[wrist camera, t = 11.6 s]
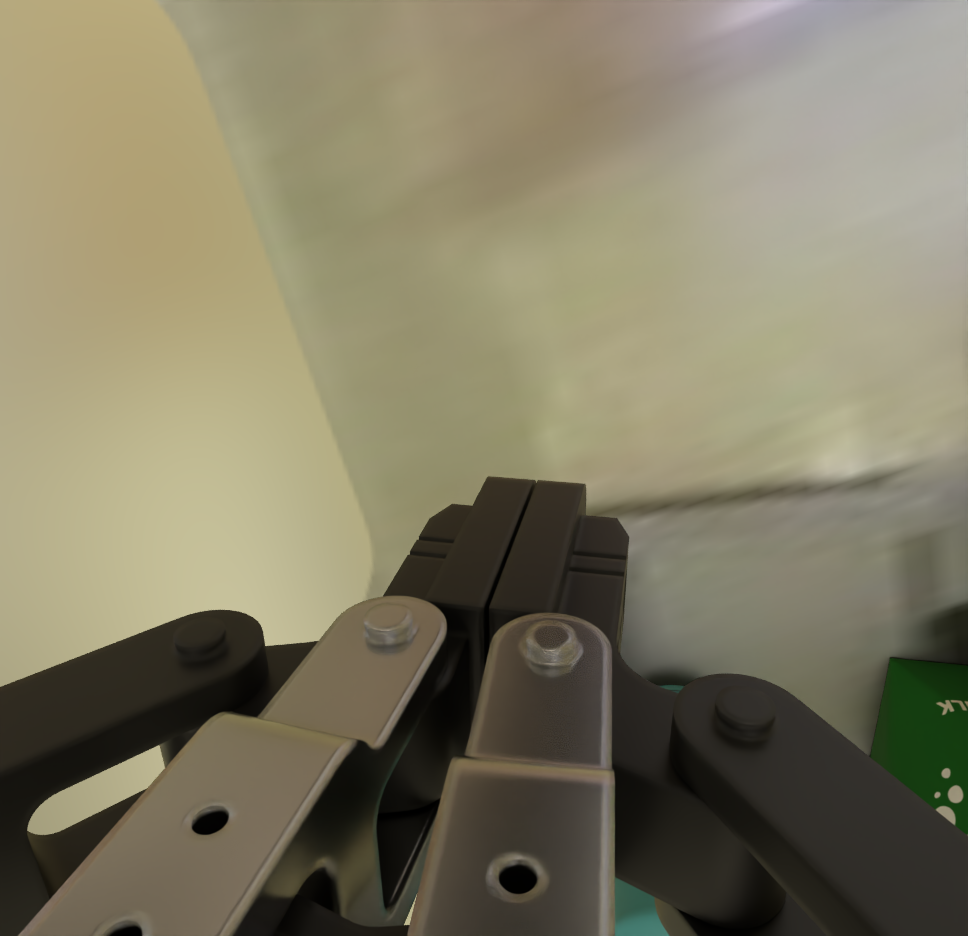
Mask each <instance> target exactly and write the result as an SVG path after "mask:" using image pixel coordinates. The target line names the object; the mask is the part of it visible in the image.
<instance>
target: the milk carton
mask: <svg viewBox="0 0 968 936" xmlns="http://www.w3.org/2000/svg"><path fill="white" fill-rule="evenodd" d="M870 758H872V759H873V760H874V761H875V762H877V763H878V764H879V765H880V766H882V767H883V768H884V769H885V770H887V771H888V772H889V773H890V774H892V775H893V776H894V777H895V778H897V779H898V780H899V781H900V782H902V783H903V784H904V785H905V786H907V787H908V788H909V789H910V790H911V791H913V792H914V793H915V794H916V795H918V796H919V797H920V798H921V799H923V800H924V801H925V802H926V803H928V804H929V805H930V806H931V807H933V808H934V809H935V810H936V811H938V812H939V813H940V814H941V815H943V816H944V817H945V818H946V819H948V820H949V821H950V822H951V823H952V824H954V825H955V826H956V827H957V828H959V829H960V830H961V831H962V832H964V833H965V834H966V835H967V836H968V665H958V664H948V663H937V662H927V661H917V660H906V659H896V658H890V662H889V667H888V672H887V677H886V682H885V686H884V691H883V696H882V701H881V706H880V711H879V716H878V721H877V726H876V731H875V736H874V741H873V746H872V751H871V755H870Z"/></svg>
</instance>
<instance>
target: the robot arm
mask: <svg viewBox="0 0 968 936" xmlns="http://www.w3.org/2000/svg"><path fill="white" fill-rule="evenodd" d="M628 545H629V536H628V534H627V533H626V531H625V530H624V528H623V527H622V525H621V524H620V522H619V521H618V519H617V518H609V517H597V516H586V485H585V484H580V483H568V482H555V481H542V480H538V481H537V483H536V481H535V480H528V479H515V478H502V477H487V479H486V481H485V482H484V484H483V486H482V488H481V490H480V492H479V494H478V496H477V498H476V500H475V502H474V504H473V506H469V505H457V504H451V505H450V506H448V507H447V508H445V509H444V510H442V511H441V512H439V513H438V514H436V515H434V516H433V517H431V518H430V519H429V521H428V522H427V524H426V526H425V527H424V529H423V531H422V532H421V534H420V536H419V540H417V541H416V542H415V544H414V546H413V547H412V549H411V551H410V555H408V556H407V557H406V559H405V561H404V562H403V564H402V565H401V567H400V569H399V570H398V572H397V574H396V575H395V577H394V579H393V580H392V582H391V584H390V585H389V587H388V589H387V590H386V592H385V594H384V595H383V597H378V598H373V599H369V600H366V601H363V602H360V603H358V604H356V605H354V606H352V607H350V608H348V609H347V610H346V611H345V612H343V613H342V614H341V615H340V616H339V617H338V618H337V619H336V620H335V621H334V622H333V624H332V625H331V626H330V627H329V629H328V630H327V631H326V632H325V634H324V635H323V636H322V637H321V639H320V640H319V641H314V642H307V643H296V644H286V645H274V646H265V642H264V636H263V631H262V627H261V625H260V624H259V623H258V621H257V620H255V619H254V618H253V617H251V616H249V615H247V614H244V613H241V612H237V611H231V610H210V611H204V612H198V613H194V614H190V615H187V616H184V617H181V618H179V619H176V620H173V621H170V622H168V623H165V624H163V625H160V626H157V627H155V628H152V629H150V630H147V631H144V632H142V633H139V634H137V635H134V636H131V637H129V638H126V639H124V640H121V641H118V642H116V643H113V644H111V645H108V646H105V647H103V648H100V649H98V650H95V651H92V652H90V653H87V654H85V655H82V656H80V657H77V658H74V659H72V660H69V661H67V662H64V663H62V664H59V665H56V666H54V667H51V668H49V669H46V670H43V671H41V672H38V673H35V674H33V675H30V676H28V677H25V678H23V679H20V680H17V681H15V682H12V683H10V684H7V685H4V686H2V687H0V936H615V877H616V878H618V879H620V880H622V881H624V882H626V883H628V884H629V885H631V886H633V887H635V888H637V889H639V890H641V891H643V892H645V893H647V894H649V895H651V896H653V897H655V907H656V911H657V914H658V917H659V919H660V921H661V923H662V925H663V927H664V928H665V930H666V931H667V933H668V934H669V936H968V836H967V835H966V834H965V833H964V832H962V831H961V830H960V829H959V828H957V827H956V826H955V825H954V824H952V823H951V822H950V821H949V820H948V819H946V818H945V817H944V816H943V815H941V814H940V813H939V812H938V811H936V810H935V809H934V808H933V807H931V806H930V805H929V804H928V803H926V802H925V801H924V800H923V799H921V798H920V797H919V796H918V795H916V794H915V793H914V792H913V791H911V790H910V789H909V788H908V787H907V786H905V785H904V784H903V783H902V782H900V781H899V780H898V779H897V778H895V777H894V776H893V775H892V774H890V773H889V772H888V771H887V770H885V769H884V768H883V767H882V766H880V765H879V764H878V763H877V762H875V761H874V760H873V759H872V758H870V757H869V756H868V755H867V754H866V753H864V752H863V751H862V750H861V749H859V748H858V747H857V746H856V745H854V744H853V743H852V742H851V741H849V740H848V739H847V738H846V737H844V736H843V735H842V734H841V733H839V732H838V731H837V730H836V729H834V728H833V727H832V726H831V725H830V724H828V723H827V722H826V721H825V720H823V719H822V718H821V717H820V716H818V715H817V714H816V713H815V712H813V711H812V710H811V709H810V708H808V707H807V706H806V705H805V704H803V703H802V702H801V701H800V700H798V699H797V698H796V697H795V696H793V695H792V694H790V693H789V692H788V691H786V690H784V689H782V688H780V687H779V686H777V685H775V684H772V683H770V682H767V681H765V680H762V679H758V678H755V677H751V676H746V675H740V674H715V675H708V676H704V677H701V678H698V679H696V680H694V681H692V682H690V683H688V684H687V685H686V686H684V687H683V688H682V689H681V690H680V692H679V693H676V692H673V691H670V690H668V689H665V688H662V687H660V686H658V685H655V684H653V683H651V682H649V681H647V680H646V679H644V678H642V677H641V676H639V675H638V674H637V673H635V672H634V671H633V670H632V669H631V668H630V667H629V666H628V665H627V664H626V663H625V662H624V660H623V659H622V657H621V655H620V649H621V640H622V631H623V622H624V607H625V591H626V576H627V561H628ZM158 745H160V748H161V752H162V757H163V761H164V765H165V769H164V770H163V771H162V772H161V774H160V775H159V776H158V777H157V778H156V779H155V780H154V781H153V783H152V784H151V785H150V786H149V787H148V788H147V789H145V790H143V791H141V792H139V793H137V794H135V795H133V796H131V797H129V798H127V799H125V800H123V801H121V802H119V803H117V804H115V805H113V806H111V807H109V808H107V809H105V810H103V811H101V812H99V813H96V814H95V815H92V816H91V817H88V818H86V819H84V820H82V821H80V822H78V823H76V824H74V825H72V826H70V827H68V828H66V829H64V830H62V831H60V832H57V833H54V834H49V835H35V834H33V833H30V832H28V831H27V827H28V823H29V820H30V818H31V816H32V814H33V813H34V812H35V810H36V809H37V808H38V807H39V806H40V805H41V804H42V803H43V802H44V801H45V800H47V799H48V798H49V797H51V796H52V795H54V794H56V793H58V792H60V791H62V790H64V789H66V788H68V787H70V786H73V785H74V784H77V783H79V782H81V781H83V780H85V779H87V778H90V777H92V776H94V775H96V774H98V773H100V772H102V771H104V770H107V769H108V768H111V767H113V766H115V765H117V764H119V763H122V762H124V761H126V760H128V759H130V758H132V757H134V756H136V755H139V754H141V753H143V752H145V751H147V750H149V749H151V748H154V747H156V746H158ZM416 895H417V897H416ZM415 897H416V901H415V905H414V909H413V913H412V917H411V922H410V925H404V923H405V921H406V919H407V916H408V914H409V912H410V909H411V907H412V904H413V902H414V900H415Z"/></svg>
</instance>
